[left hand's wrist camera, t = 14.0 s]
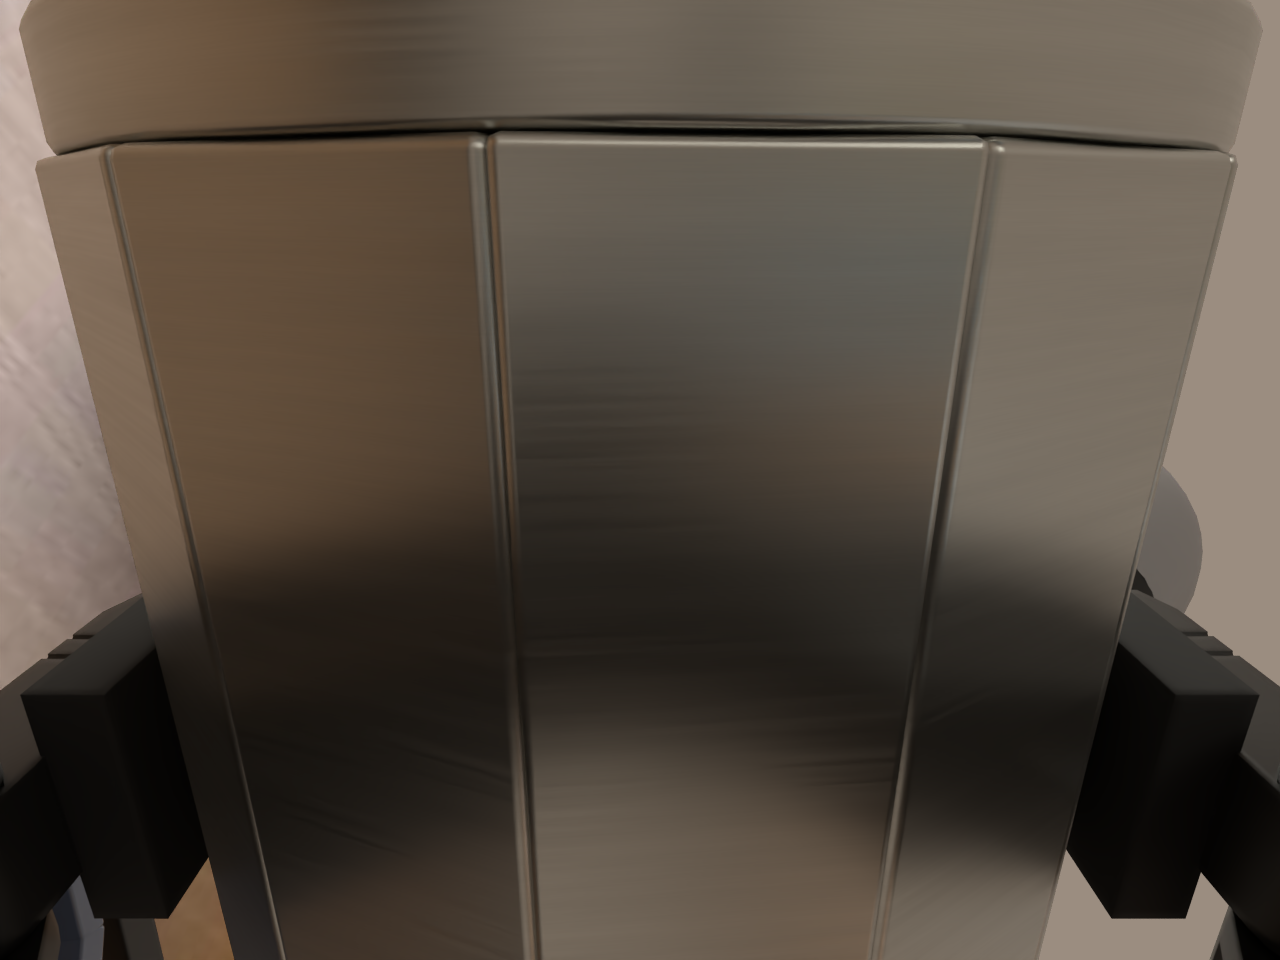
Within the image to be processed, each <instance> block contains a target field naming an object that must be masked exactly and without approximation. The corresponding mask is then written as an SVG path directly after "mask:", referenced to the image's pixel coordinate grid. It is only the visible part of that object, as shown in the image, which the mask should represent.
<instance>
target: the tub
mask: <svg viewBox="0 0 1280 960" xmlns="http://www.w3.org/2000/svg"><path fill="white" fill-rule="evenodd" d="M52 910H53V912H54V915H55V918H56V921H57V924H58V927H59V934H60V941H61V944H60V950H59V955H58V960H102V956H103V940H104V926H102V925H103V919H94V916H93V913H92V910H91V907H90V904H89V901H88V898H87V895H86V892H85V889H84V886H83V883H82V880H81V877H80V875H79V877H78V878H77V879H76V880H75V882H74V883H73V884H72V885H71V886H70V888H69V889H68V890H67V891H66V892H65V894H64V895H63V896H62V897H61V898H60V900H59V901H58V902H57V903H56V904H55V906H54V907H53V908H52Z"/></svg>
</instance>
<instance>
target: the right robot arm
mask: <svg viewBox="0 0 1280 960" xmlns="http://www.w3.org/2000/svg"><path fill="white" fill-rule="evenodd" d="M1201 561H1202V539H1201V532H1200V528H1199V524H1198V520H1197V516H1196V514H1195V512H1194V510H1193V508H1192V506H1191V504H1190V502H1189V500H1188V497H1187V495H1186V494H1185V492H1184V491H1183V490H1182V488H1181V487H1180V486H1179V484H1178V483H1177V481H1176V480H1175V479H1174V478H1173V476H1172V475H1171V474H1170V473H1169V472H1168V471H1167V470H1166V469H1165V468H1164V467H1163V466H1162V469H1161V473H1160V477H1159V481H1158V485H1157V489H1156V493H1155V497H1154V501H1153V505H1152V509H1151V513H1150V517H1149V521H1148V525H1147V529H1146V533H1145V537H1144V541H1143V545H1142V549H1141V553H1140V557H1139V561H1138V565H1137V569H1136V573H1135V577H1134V581H1133V585H1132V588H1131V590H1138V591H1140V592H1143V593H1145V594H1147V595H1149V596H1151V597H1153V598H1155V599H1157V600H1159V601H1162V602H1164V603H1166V604H1168V605H1170V606H1172V607H1174V608H1176V609H1178V610H1179V611H1181V612H1182V613H1183V614H1184V613H1185V611H1186V609H1187V607H1188V605H1189V603H1190V601H1191V599H1192V597H1193V595H1194V591H1195V588H1196V584H1197V580H1198V576H1199V573H1200V569H1201ZM102 926H104V940H103V956H102V960H164V959H163V954H162V950H161V946H160V942H159V938H158V933H157V929H156V925H155V921H154V919H103V925H102Z"/></svg>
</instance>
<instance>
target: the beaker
mask: <svg viewBox="0 0 1280 960" xmlns="http://www.w3.org/2000/svg"><path fill="white" fill-rule="evenodd" d="M19 31H20V35H21V39H22V43H23V47H24V51H25V55H26V60H27V64H28V68H29V72H30V76H31V80H32V84H33V88H34V92H35V96H36V100H37V105H38V109H39V113H40V117H41V121H42V125H43V129H44V133H45V137H46V141H47V143H48V145H49V146H50V148H51V149H52V150H53V152H54V153H55V154H56V155H57V156H53V157H48V158H44V159H42V160H39V161H37V164H36V169H35V170H36V174H37V178H38V182H39V186H40V190H41V194H42V197H43V201H44V205H45V209H46V213H47V217H48V221H49V225H50V229H51V233H52V237H53V241H54V245H55V249H56V253H57V257H58V261H59V265H60V269H61V273H62V277H63V281H64V285H65V289H66V293H67V297H68V301H69V305H70V309H71V313H72V317H73V321H74V324H75V328H76V332H77V336H78V340H79V344H80V348H81V352H82V356H83V360H84V364H85V368H86V372H87V376H88V380H89V384H90V388H91V392H92V396H93V400H94V404H95V408H96V412H97V416H98V420H99V424H100V428H101V432H102V436H103V440H104V444H105V448H106V452H107V455H108V459H109V463H110V467H111V471H112V475H113V479H114V483H115V487H116V491H117V495H118V499H119V503H120V507H121V511H122V515H123V519H124V523H125V527H126V531H127V535H128V539H129V543H130V547H131V551H132V555H133V559H134V563H135V567H136V571H137V575H138V579H139V583H140V586H141V590H142V594H143V598H144V602H145V606H146V610H147V614H148V618H149V622H150V626H151V630H152V634H153V638H154V642H155V646H156V650H157V654H158V658H159V662H160V666H161V670H162V674H163V678H164V682H165V686H166V690H167V694H168V698H169V702H170V706H171V710H172V713H173V717H174V721H175V725H176V729H177V733H178V737H179V741H180V745H181V749H182V753H183V757H184V761H185V765H186V769H187V773H188V777H189V781H190V785H191V789H192V793H193V797H194V801H195V805H196V809H197V813H198V817H199V821H200V825H201V829H202V833H203V837H204V841H205V844H206V848H207V852H208V856H209V860H210V864H211V868H212V872H213V876H214V880H215V884H216V888H217V892H218V896H219V900H220V904H221V908H222V912H223V916H224V920H225V924H226V928H227V932H228V936H229V940H230V944H231V948H232V952H233V956H234V960H1038V959H1039V955H1040V951H1041V947H1042V943H1043V939H1044V935H1045V931H1046V927H1047V923H1048V919H1049V915H1050V911H1051V907H1052V903H1053V899H1054V895H1055V891H1056V887H1057V883H1058V879H1059V875H1060V871H1061V867H1062V863H1063V859H1064V855H1065V851H1066V847H1067V843H1068V839H1069V835H1070V831H1071V827H1072V823H1073V819H1074V815H1075V811H1076V807H1077V803H1078V800H1079V796H1080V792H1081V788H1082V784H1083V780H1084V776H1085V772H1086V768H1087V764H1088V760H1089V756H1090V752H1091V748H1092V744H1093V740H1094V736H1095V732H1096V728H1097V724H1098V720H1099V716H1100V712H1101V708H1102V704H1103V700H1104V696H1105V692H1106V688H1107V684H1108V680H1109V676H1110V672H1111V668H1112V664H1113V660H1114V656H1115V652H1116V648H1117V644H1118V640H1119V636H1120V632H1121V628H1122V624H1123V620H1124V616H1125V612H1126V608H1127V604H1128V600H1129V596H1130V592H1131V588H1132V585H1133V581H1134V577H1135V573H1136V569H1137V565H1138V561H1139V557H1140V553H1141V549H1142V545H1143V541H1144V537H1145V533H1146V529H1147V525H1148V521H1149V517H1150V513H1151V509H1152V505H1153V501H1154V497H1155V493H1156V489H1157V485H1158V481H1159V477H1160V473H1161V469H1162V465H1163V461H1164V457H1165V453H1166V449H1167V445H1168V441H1169V437H1170V433H1171V429H1172V425H1173V421H1174V417H1175V413H1176V409H1177V405H1178V401H1179V397H1180V393H1181V389H1182V385H1183V381H1184V377H1185V373H1186V370H1187V365H1188V361H1189V358H1190V354H1191V350H1192V346H1193V342H1194V338H1195V334H1196V330H1197V326H1198V322H1199V318H1200V313H1201V310H1202V306H1203V302H1204V298H1205V294H1206V290H1207V286H1208V282H1209V278H1210V274H1211V270H1212V266H1213V262H1214V258H1215V254H1216V250H1217V246H1218V242H1219V238H1220V234H1221V230H1222V226H1223V222H1224V218H1225V214H1226V210H1227V206H1228V202H1229V198H1230V194H1231V190H1232V186H1233V182H1234V178H1235V174H1236V170H1237V166H1238V164H1237V160H1236V156H1235V155H1232V154H1230V153H1228V152H1229V151H1230V149H1231V148H1232V147H1233V145H1234V144H1235V140H1236V136H1237V132H1238V128H1239V124H1240V120H1241V116H1242V112H1243V108H1244V103H1245V100H1246V96H1247V92H1248V87H1249V83H1250V79H1251V75H1252V71H1253V67H1254V63H1255V59H1256V55H1257V51H1258V47H1259V43H1260V39H1261V35H1262V26H1261V22H1260V20H1259V18H1258V16H1257V14H1256V12H1255V10H1254V8H1253V6H1252V4H1251V2H1249V1H1248V0H31V2H30V4H29V5H28V7H27V9H26V11H25V13H24V15H23V17H22V19H21V23H20V27H19Z"/></svg>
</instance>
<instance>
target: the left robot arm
mask: <svg viewBox="0 0 1280 960" xmlns="http://www.w3.org/2000/svg"><path fill="white" fill-rule="evenodd" d="M1232 652H1233V651H1232V650H1231V649H1229V648H1228V647H1227V646H1225V645H1224V644H1223V643H1222V642H1220V641H1219V640H1218V639H1216V638H1215V637H1214V636H1208V634H1207V631H1206V630H1204V629H1203V628H1202V627H1200V626H1199V625H1198V624H1197V623H1195V622H1194V621H1193V620H1191V619H1190V618H1189V617H1187V616H1186V615H1185V614H1183V613H1182V612H1181V611H1179V610H1178V609H1176V608H1174V607H1172V606H1170V605H1168V604H1166V603H1164V602H1162V601H1159V600H1157V599H1155V598H1153V597H1151V596H1149V595H1147V594H1145V593H1143V592H1140V591H1138V590H1131V592H1130V596H1129V600H1128V604H1127V608H1126V612H1125V616H1124V620H1123V624H1122V628H1121V632H1120V636H1119V640H1118V644H1117V648H1116V652H1115V656H1114V660H1113V664H1112V668H1111V672H1110V676H1109V680H1108V684H1107V688H1106V692H1105V696H1104V700H1103V704H1102V708H1101V712H1100V716H1099V720H1098V724H1097V728H1096V732H1095V736H1094V740H1093V744H1092V748H1091V752H1090V756H1089V760H1088V764H1087V768H1086V772H1085V776H1084V780H1083V784H1082V788H1081V792H1080V796H1079V800H1078V803H1077V807H1076V811H1075V815H1074V819H1073V823H1072V827H1071V831H1070V835H1069V839H1068V843H1067V847H1066V850H1067V851H1068V853H1069V854H1070V856H1071V857H1072V859H1073V860H1074V862H1075V863H1076V865H1077V867H1078V868H1079V870H1080V871H1081V873H1082V874H1083V876H1084V877H1085V879H1086V880H1087V882H1088V883H1089V885H1090V886H1091V888H1092V889H1093V891H1094V892H1095V894H1096V895H1097V897H1098V899H1099V900H1100V902H1101V903H1102V905H1103V906H1104V908H1105V909H1106V911H1107V912H1108V914H1109V915H1110V917H1111V918H1112V919H1131V918H1132V919H1160V918H1161V919H1165V918H1166V919H1178V918H1179V919H1182V918H1183V919H1185V918H1186V915H1187V912H1188V909H1189V906H1190V903H1191V900H1192V897H1193V894H1194V891H1195V888H1196V885H1197V882H1198V879H1199V876H1200V873H1202V874H1203V875H1204V876H1205V877H1206V879H1207V880H1208V881H1209V882H1210V883H1211V885H1212V886H1213V887H1214V888H1215V889H1216V890H1217V892H1218V893H1219V894H1220V895H1221V896H1222V898H1223V899H1224V900H1225V901H1226V902H1227V904H1228V905H1229V907H1228V910H1227V912H1226V915H1225V918H1224V921H1223V924H1222V926H1221V929H1220V932H1219V935H1218V938H1217V940H1216V943H1215V946H1214V949H1213V952H1212V955H1211V957H1210V960H1280V687H1279V686H1278V685H1277V684H1275V683H1274V682H1273V681H1272V680H1270V679H1269V678H1268V677H1266V676H1265V675H1264V674H1262V673H1261V672H1260V671H1258V670H1257V669H1256V668H1254V667H1253V666H1252V665H1251V664H1249V663H1248V662H1247V661H1245V660H1244V659H1243V658H1241V657H1240V656H1233V653H1232ZM208 857H209V856H208V852H207V848H206V844H205V841H204V837H203V833H202V829H201V825H200V821H199V817H198V813H197V809H196V805H195V801H194V797H193V793H192V789H191V785H190V781H189V777H188V773H187V769H186V765H185V761H184V757H183V753H182V749H181V745H180V741H179V737H178V733H177V729H176V725H175V721H174V717H173V713H172V710H171V706H170V702H169V698H168V694H167V690H166V686H165V682H164V678H163V674H162V670H161V666H160V662H159V658H158V654H157V650H156V646H155V642H154V638H153V634H152V630H151V626H150V622H149V618H148V614H147V610H146V606H145V602H144V598H143V594H139V595H137V596H135V597H133V598H131V599H129V600H127V601H125V602H123V603H121V604H119V605H116V606H114V607H112V608H110V609H108V610H106V611H104V612H102V613H101V614H100V615H98V616H97V617H96V618H94V619H93V620H92V621H90V622H89V623H88V624H87V625H85V626H84V627H83V628H81V629H80V630H79V631H77V632H76V633H75V634H73V639H67V640H66V641H64V642H63V643H62V644H60V645H59V646H58V647H57V648H55V649H54V650H53V651H51V652H50V653H49V654H48V658H47V659H41V660H40V661H38V662H37V663H36V664H34V665H33V666H32V667H30V668H29V669H28V670H26V671H25V672H24V673H23V674H21V675H20V676H19V677H17V678H16V679H15V680H13V681H12V682H11V683H10V684H8V685H7V686H6V687H4V688H3V689H2V690H0V960H58V955H59V950H60V944H61V941H60V934H59V927H58V924H57V921H56V918H55V915H54V912H53V910H52V908H53V907H54V906H55V904H56V903H57V902H58V901H59V900H60V898H61V897H62V896H63V895H64V894H65V892H66V891H67V890H68V889H69V888H70V886H71V885H72V884H73V883H74V882H75V880H76V879H77V878H78V877H79V875H80V877H81V880H82V883H83V886H84V889H85V892H86V895H87V898H88V901H89V904H90V907H91V910H92V913H93V916H94V919H168V918H169V916H170V915H171V913H172V912H173V910H174V909H175V907H176V906H177V904H178V903H179V901H180V900H181V898H182V897H183V895H184V894H185V892H186V891H187V889H188V888H189V886H190V885H191V883H192V881H193V880H194V878H195V877H196V875H197V874H198V872H199V871H200V869H201V868H202V866H203V865H204V863H205V862H206V860H207V859H208Z"/></svg>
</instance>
